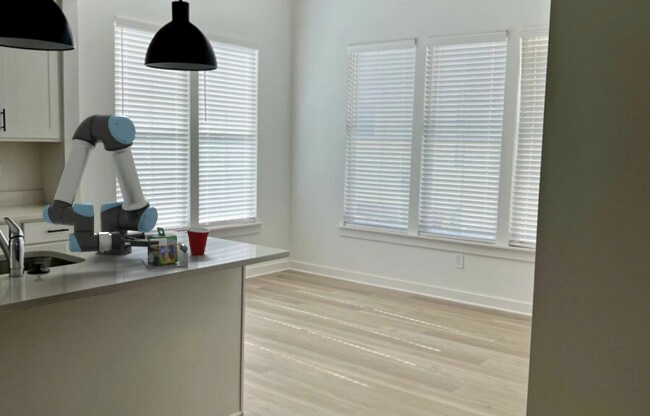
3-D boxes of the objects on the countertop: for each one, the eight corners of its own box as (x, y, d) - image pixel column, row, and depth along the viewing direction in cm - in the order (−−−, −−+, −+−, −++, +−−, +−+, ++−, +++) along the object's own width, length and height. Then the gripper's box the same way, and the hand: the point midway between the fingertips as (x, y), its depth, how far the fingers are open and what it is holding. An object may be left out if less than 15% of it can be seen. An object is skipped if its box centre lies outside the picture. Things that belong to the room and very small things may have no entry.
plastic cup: (204, 257, 274) (204, 230, 273) (182, 255, 276) (182, 229, 275) (213, 253, 285) (213, 227, 283) (191, 251, 287) (192, 226, 285)
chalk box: (178, 262, 257) (178, 227, 255) (158, 265, 250) (158, 229, 248) (165, 259, 263) (165, 225, 261) (146, 262, 256) (146, 227, 255)
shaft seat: (142, 261, 261) (142, 242, 260) (181, 259, 267) (181, 240, 267) (148, 269, 246) (148, 249, 245) (189, 266, 253) (189, 247, 252)
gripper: (107, 245, 258) (158, 243, 267) (113, 256, 236) (169, 253, 245) (106, 227, 257) (158, 226, 266) (113, 237, 235) (169, 235, 244)
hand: (163, 239), depth 255 cm, fingers open, 13 cm apart
